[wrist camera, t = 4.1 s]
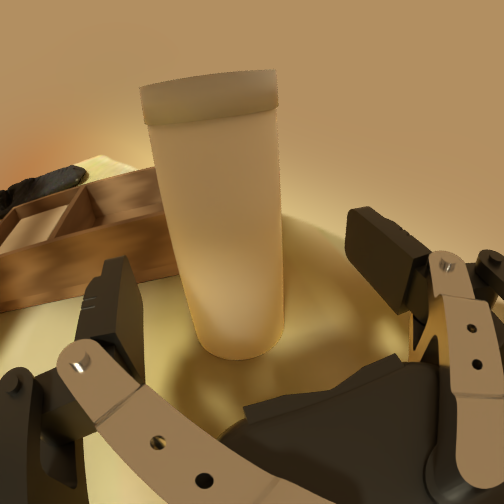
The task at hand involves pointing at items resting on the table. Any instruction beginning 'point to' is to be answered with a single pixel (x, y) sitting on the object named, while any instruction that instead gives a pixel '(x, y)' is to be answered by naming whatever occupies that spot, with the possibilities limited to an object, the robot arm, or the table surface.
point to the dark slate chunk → (39, 187)
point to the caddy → (83, 239)
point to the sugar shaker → (223, 203)
